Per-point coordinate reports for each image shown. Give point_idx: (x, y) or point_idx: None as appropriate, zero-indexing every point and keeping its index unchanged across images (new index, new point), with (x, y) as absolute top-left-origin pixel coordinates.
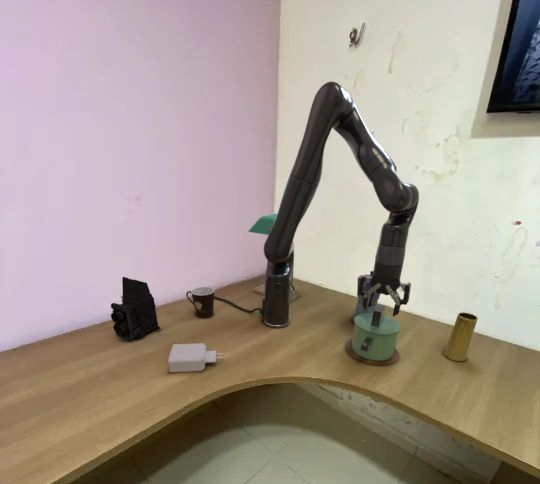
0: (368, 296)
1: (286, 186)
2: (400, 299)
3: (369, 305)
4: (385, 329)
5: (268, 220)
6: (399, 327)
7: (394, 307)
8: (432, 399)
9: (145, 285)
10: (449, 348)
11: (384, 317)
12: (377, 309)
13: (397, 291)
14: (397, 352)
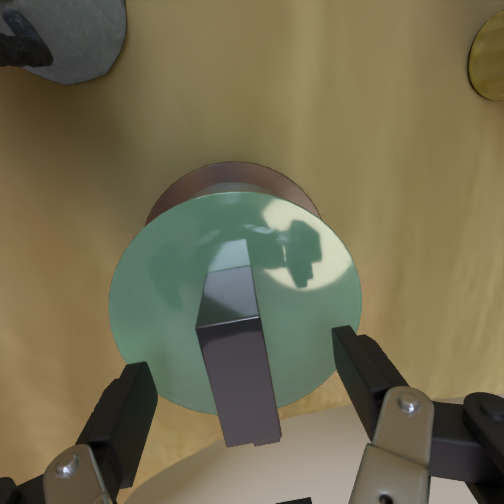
0: (108, 474)
1: None
2: (434, 446)
3: (41, 65)
4: (302, 353)
5: None
6: (353, 287)
7: (364, 423)
8: (444, 349)
9: None
10: None
11: (240, 228)
12: (238, 418)
13: (423, 499)
14: (316, 211)
